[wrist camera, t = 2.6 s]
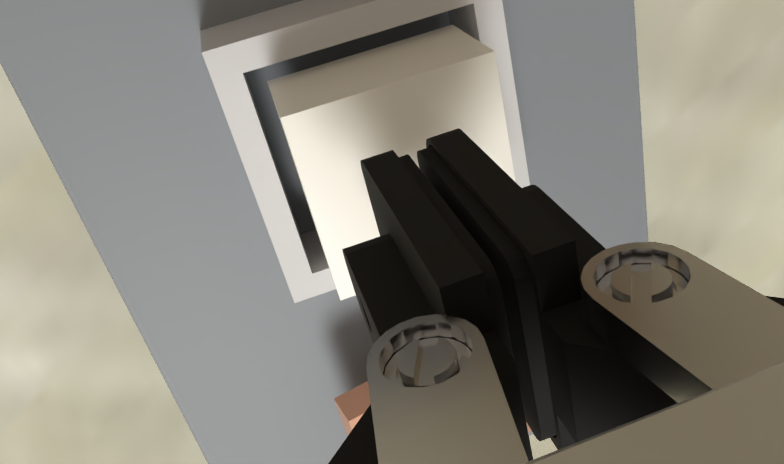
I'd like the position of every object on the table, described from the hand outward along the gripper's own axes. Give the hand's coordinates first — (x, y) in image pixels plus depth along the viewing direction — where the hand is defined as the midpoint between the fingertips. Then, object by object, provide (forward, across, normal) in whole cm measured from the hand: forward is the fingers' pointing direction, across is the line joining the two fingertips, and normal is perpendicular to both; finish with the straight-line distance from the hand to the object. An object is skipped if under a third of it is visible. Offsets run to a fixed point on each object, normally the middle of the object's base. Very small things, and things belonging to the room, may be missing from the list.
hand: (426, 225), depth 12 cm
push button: (+4, 0, 0) cm, 4 cm away
